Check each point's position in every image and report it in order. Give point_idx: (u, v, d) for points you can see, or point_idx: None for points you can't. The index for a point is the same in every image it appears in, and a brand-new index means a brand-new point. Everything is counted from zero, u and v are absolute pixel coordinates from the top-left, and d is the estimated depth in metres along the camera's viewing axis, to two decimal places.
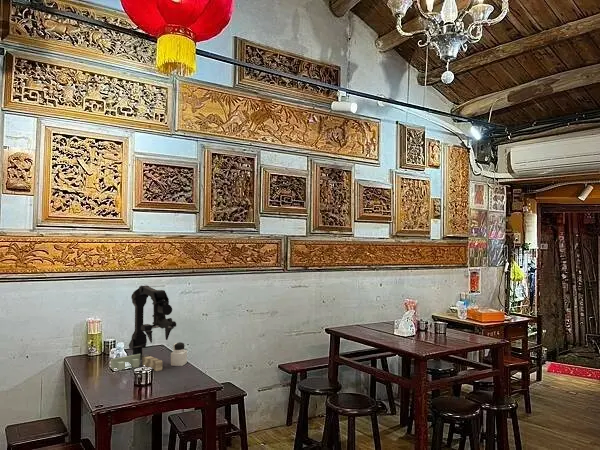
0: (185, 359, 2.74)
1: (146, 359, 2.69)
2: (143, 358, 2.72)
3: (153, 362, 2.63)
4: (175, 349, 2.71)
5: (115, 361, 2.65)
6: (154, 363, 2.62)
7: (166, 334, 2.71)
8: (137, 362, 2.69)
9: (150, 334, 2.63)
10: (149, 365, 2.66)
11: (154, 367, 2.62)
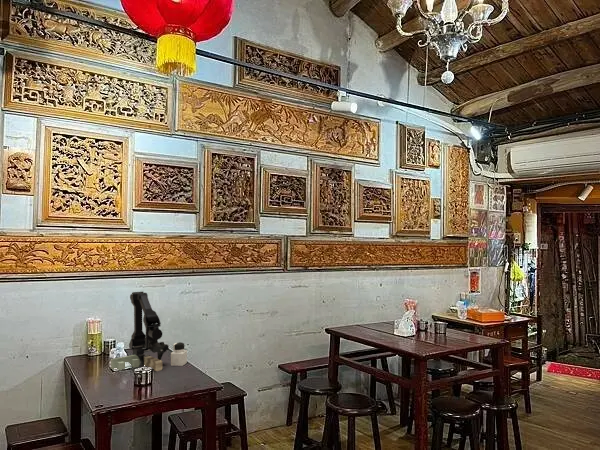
0: (185, 359, 2.74)
1: (146, 359, 2.69)
2: None
3: (153, 362, 2.63)
4: (175, 349, 2.71)
5: (115, 361, 2.65)
6: (154, 363, 2.62)
7: (158, 357, 2.72)
8: (137, 362, 2.69)
9: (142, 358, 2.64)
10: (149, 365, 2.66)
11: (154, 367, 2.62)
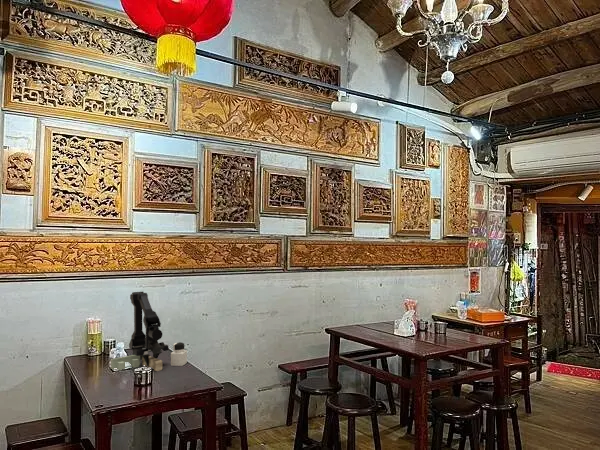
0: (185, 359, 2.74)
1: None
2: (143, 358, 2.72)
3: (153, 362, 2.63)
4: (175, 349, 2.71)
5: (115, 361, 2.65)
6: (154, 362, 2.62)
7: None
8: (137, 362, 2.69)
9: (147, 358, 2.66)
10: (149, 365, 2.66)
11: (154, 367, 2.62)
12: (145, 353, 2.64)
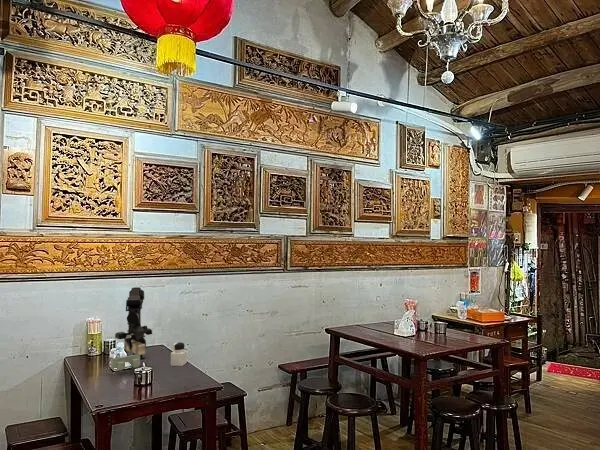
0: (185, 359, 2.74)
1: None
2: (126, 342, 2.65)
3: (136, 346, 2.56)
4: (175, 349, 2.71)
5: (115, 361, 2.65)
6: (137, 346, 2.55)
7: None
8: (137, 362, 2.69)
9: (129, 341, 2.59)
10: (132, 349, 2.60)
11: (137, 351, 2.55)
12: (127, 337, 2.58)
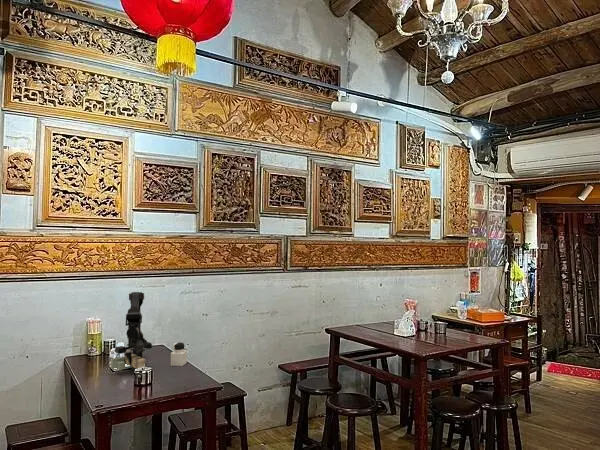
0: (185, 359, 2.74)
1: None
2: None
3: (135, 360, 2.56)
4: (175, 349, 2.71)
5: (115, 361, 2.65)
6: (137, 361, 2.55)
7: None
8: None
9: (129, 356, 2.59)
10: (131, 363, 2.60)
11: (136, 365, 2.55)
12: (127, 351, 2.58)
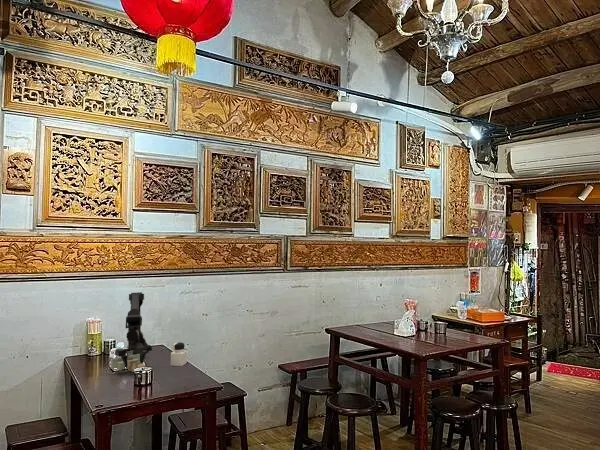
0: (185, 359, 2.74)
1: (129, 362, 2.62)
2: None
3: (135, 366, 2.56)
4: (175, 349, 2.71)
5: (115, 361, 2.65)
6: (137, 366, 2.55)
7: (140, 358, 2.65)
8: None
9: (125, 359, 2.57)
10: (131, 369, 2.59)
11: None
12: None
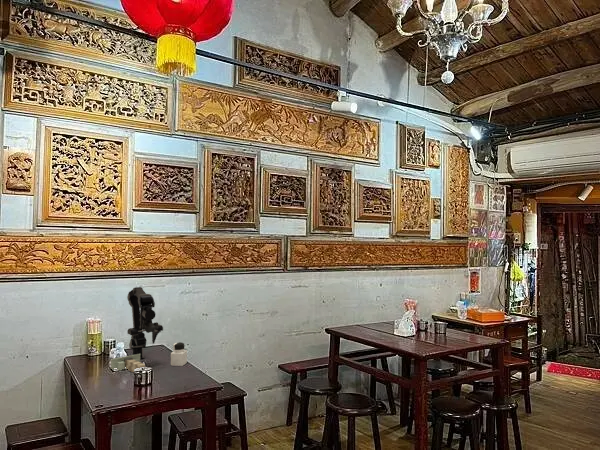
0: (185, 359, 2.74)
1: (129, 362, 2.62)
2: (126, 361, 2.65)
3: (135, 366, 2.56)
4: (175, 349, 2.71)
5: (115, 361, 2.65)
6: (137, 366, 2.55)
7: (153, 338, 2.76)
8: None
9: (136, 338, 2.68)
10: (131, 369, 2.59)
11: None
12: None
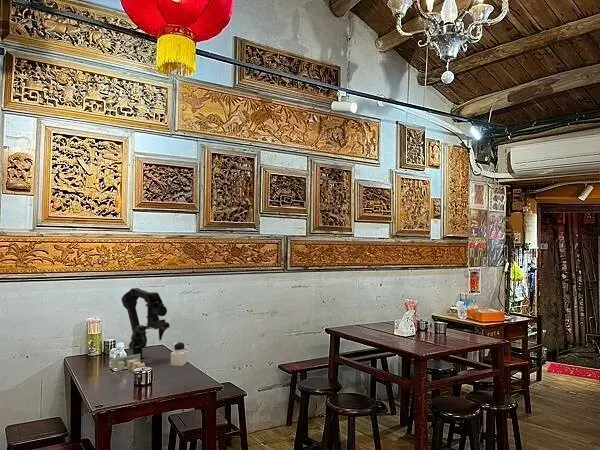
0: (185, 359, 2.74)
1: (129, 362, 2.62)
2: (126, 361, 2.65)
3: (135, 366, 2.56)
4: (175, 349, 2.71)
5: (115, 361, 2.65)
6: (137, 366, 2.55)
7: (160, 335, 2.82)
8: None
9: (144, 335, 2.74)
10: (131, 369, 2.60)
11: None
12: None
